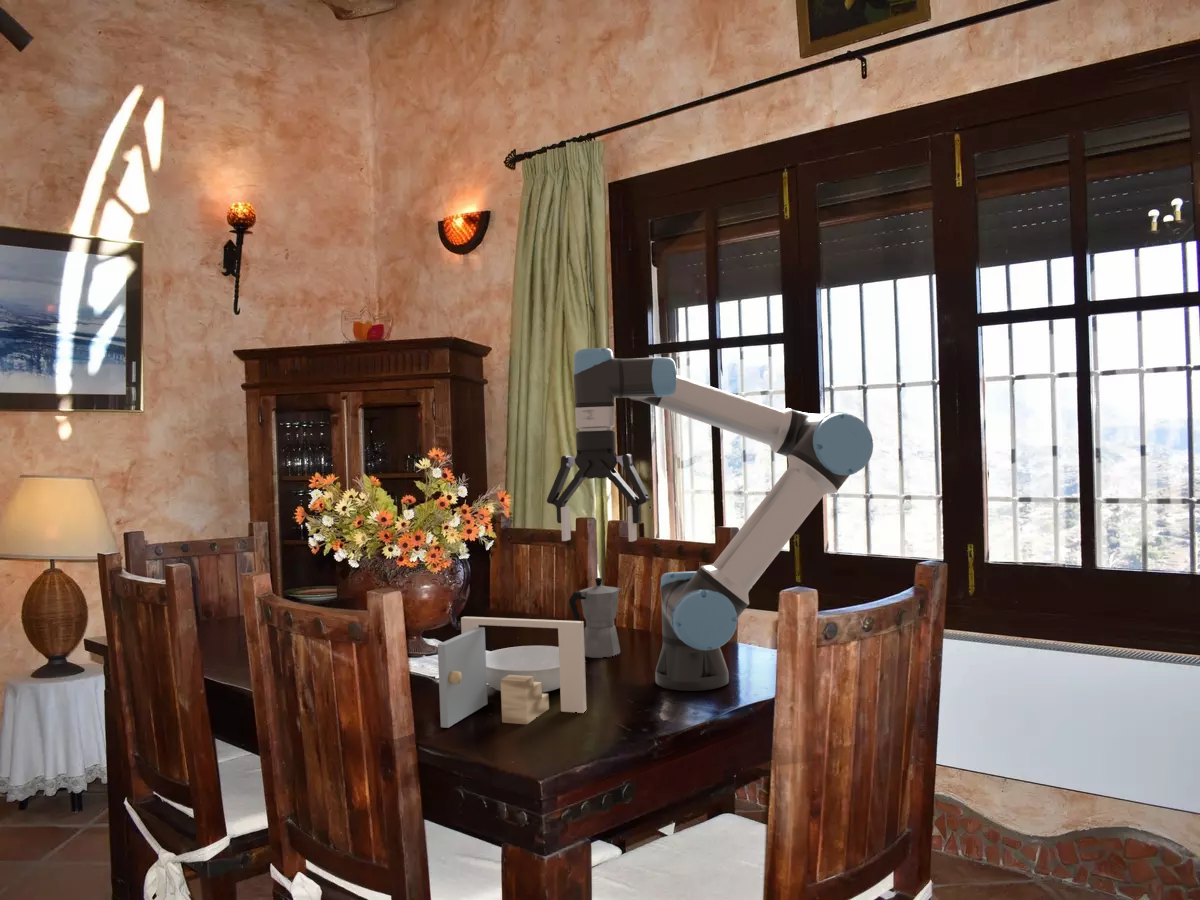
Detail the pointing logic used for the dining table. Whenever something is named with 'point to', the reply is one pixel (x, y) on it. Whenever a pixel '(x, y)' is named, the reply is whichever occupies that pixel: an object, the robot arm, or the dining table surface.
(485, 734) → the dining table surface
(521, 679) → the toy staircase
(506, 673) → the serving bowl
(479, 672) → the door
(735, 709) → the dining table surface
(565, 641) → the wall frame
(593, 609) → the coffeepot
